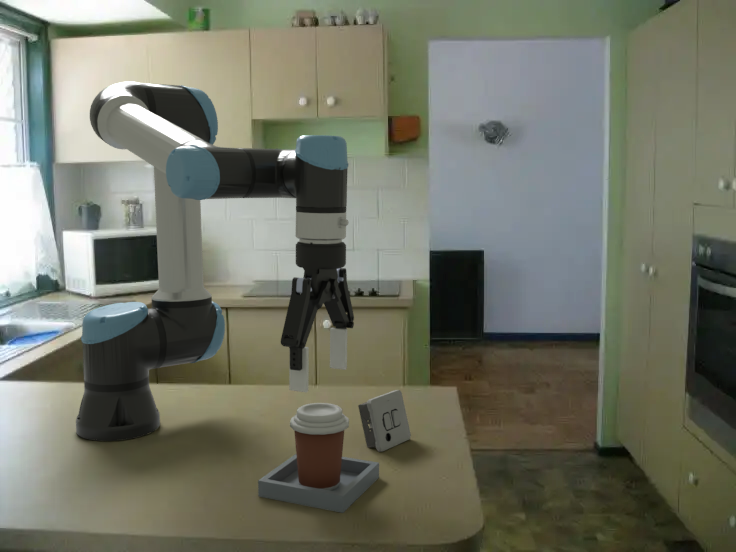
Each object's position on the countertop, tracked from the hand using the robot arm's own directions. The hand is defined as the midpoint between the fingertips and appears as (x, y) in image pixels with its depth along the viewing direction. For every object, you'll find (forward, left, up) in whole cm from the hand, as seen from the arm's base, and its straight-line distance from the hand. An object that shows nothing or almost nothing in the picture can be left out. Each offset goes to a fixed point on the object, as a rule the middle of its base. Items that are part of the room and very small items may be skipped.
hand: (319, 379), depth 116 cm
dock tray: (0, 0, -17) cm, 17 cm away
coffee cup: (0, 0, -17) cm, 17 cm away
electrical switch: (+2, +22, -17) cm, 28 cm away
